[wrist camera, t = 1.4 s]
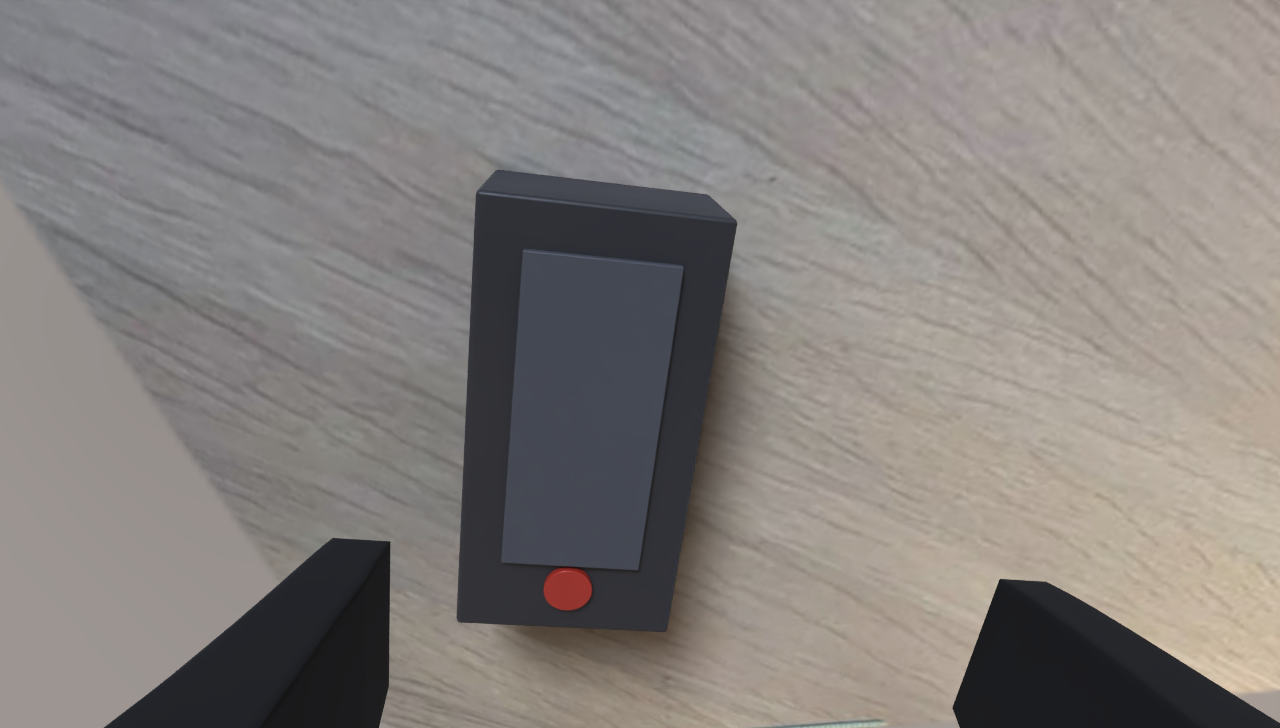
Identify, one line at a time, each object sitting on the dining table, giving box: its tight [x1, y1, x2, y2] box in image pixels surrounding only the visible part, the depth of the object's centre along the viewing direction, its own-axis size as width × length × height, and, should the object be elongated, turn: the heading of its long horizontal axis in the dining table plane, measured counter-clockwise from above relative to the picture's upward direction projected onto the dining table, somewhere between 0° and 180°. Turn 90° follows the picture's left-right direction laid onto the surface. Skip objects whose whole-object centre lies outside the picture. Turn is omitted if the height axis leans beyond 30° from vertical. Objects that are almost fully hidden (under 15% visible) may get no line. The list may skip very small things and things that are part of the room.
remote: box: [457, 170, 737, 632], centre depth 15 cm, size 9×4×3 cm, turn 173°
